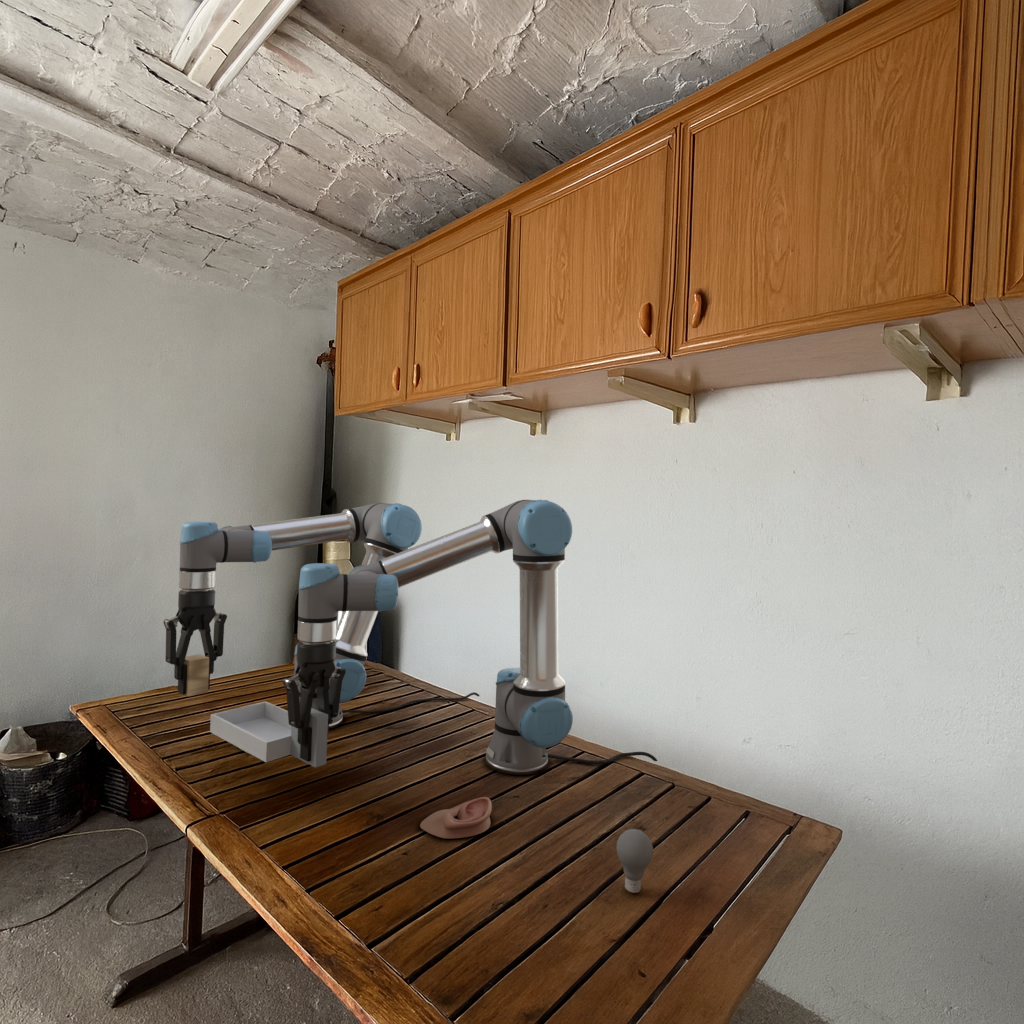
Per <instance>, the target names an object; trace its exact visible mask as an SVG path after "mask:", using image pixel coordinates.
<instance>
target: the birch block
mask: <svg viewBox="0 0 1024 1024" xmlns="http://www.w3.org/2000/svg"><path fill="white" fill-rule="evenodd" d="M184 664H185V665H187V691H186V694H185V695H184V696H187V697H192V696H197V695H201V694H207V693H209V690H208V680H209V658H208V657H206V656H205V655H204V654H200V653H199V654H198V653H197V654H193V655H186V658H185V662H184Z"/></svg>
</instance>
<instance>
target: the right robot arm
mask: <svg viewBox="0 0 1024 1024" xmlns="http://www.w3.org/2000/svg"><path fill="white" fill-rule="evenodd" d="M572 523H573V522H572V519H571V518H570V515H569V514H568V512H567V511H566V510H565V508H564V507H562V506H561V505H560V504H558V503H556V502H553V501H550V500H548V499H521V500H517V501H514V502H512V503H509V504H507V505H505V506H504V507H501V508H499V509H497V510H494V511H492V512H490V513H488V514H487V513H486V514H484V515H482V516H481V518H480V520H479V522H476V523H474V524H471V525H468V526H465V527H463V528H460V529H458V530H454V531H452V532H449V533H447V534H444V535H442V536H439V537H436V538H433V539H431V540H429V541H426V542H423V543H420V544H417V545H416V546H412V547H409V548H408V549H407V550H405V551H402V552H400V553H397V554H394V555H392V556H389V557H387V558H384V559H381V560H379V561H376V562H373V563H371V564H368V565H362V564H361V565H357V566H355V567H353V568H352V569H351V570H350V571H349V572H348V574H347V573H340V568H339V565H337V564H335V563H323V562H321V563H320V562H316V563H314V562H313V563H307V564H304V565H303V566H302V567H301V568H300V570H299V571H300V573H299V581H298V582H299V583H298V605H297V606H298V609H297V611H298V613H297V640H298V642H297V644H296V645H297V663H298V666H297V668H296V671H295V674H294V673H293V675H291V676H290V677H289V678H288V677H284V678H283V679H282V684H283V685H284V688H285V690H286V705H287V711H288V721H289V725H291V726H293V727H295V728H298V740H297V741H298V743H299V744H300V758H301V759H303V760H305V761H307V762H308V761H311V747H312V728H311V727H309V722H310V715H311V708H312V701H313V695H314V694H315V691H316V690H317V704H318V711H320V712H323V713H325V714H328V732H327V738H328V737H329V733H330V732H329V731H330V729H329V724H331V723H332V721H333V720H332V718H333V717H334V718H335V717H337V716H338V710H339V703H340V695H341V687H342V680H343V678H344V676H345V673H346V670H345V669H342V668H339V667H336V666H335V663H334V659H335V657H336V642H335V641H334V640H335V639H336V637H337V627H338V612H343V611H378V613H381V612H386V611H393V610H395V609H396V608H397V606H398V601H399V589H400V588H402V587H404V586H407V585H410V584H412V583H415V582H417V581H420V580H422V579H425V578H427V577H429V576H433V575H435V574H437V573H441V572H443V571H445V570H448V569H450V568H454V567H455V566H458V565H461V564H463V563H466V562H468V561H471V560H473V559H476V558H478V557H481V556H483V555H486V554H488V553H490V552H492V553H494V554H497V555H498V554H500V553H502V552H505V551H510V550H512V563H514V564H515V565H516V567H518V569H519V667H508V668H502V669H501V670H499V671H498V672H497V675H496V682H495V685H496V687H495V709H494V710H495V711H494V730H493V732H492V736H491V738H490V741H489V744H488V746H487V749H486V751H485V764H486V765H487V767H489V768H490V769H491V770H494V771H495V772H498V773H501V774H506V775H511V776H529V775H534V774H537V773H541V772H542V771H544V770H546V769H547V767H548V766H549V765H548V764H549V759H554V760H560V761H567V762H574V763H579V764H586V765H606V764H609V763H612V762H615V760H617V759H620V758H623V757H634V756H644V757H647V758H650V759H651V760H652V761H653V762H658V761H659V760H658V759H657V757H655V756H654V755H653V754H651V753H649V752H646V751H631V752H622V753H617V754H615V755H614V756H612V757H610V758H606V759H601V760H591V759H583V758H577V757H570V756H563V755H557V754H551V753H550V754H549V753H548V751H547V748H552V747H555V746H557V745H559V744H560V743H561V742H562V741H563V740H564V739H566V737H567V736H568V735H569V733H570V731H571V729H572V726H573V720H574V715H573V711H572V709H571V706H570V705H569V704H568V702H567V701H566V680H565V679H564V678H563V677H562V676H561V675H560V674H559V568H560V567H561V566H562V565H563V563H565V561H566V558H565V556H566V548H567V546H568V545H569V544H570V543H571V539H572V537H573V524H572ZM331 675H332V676H331ZM330 677H331V680H330V685H329V679H330ZM298 680H299V681H300V682H301V687H300V691H301V697H300V701H299V690H298V686H299V684H298ZM340 704H341V703H340Z"/></svg>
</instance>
